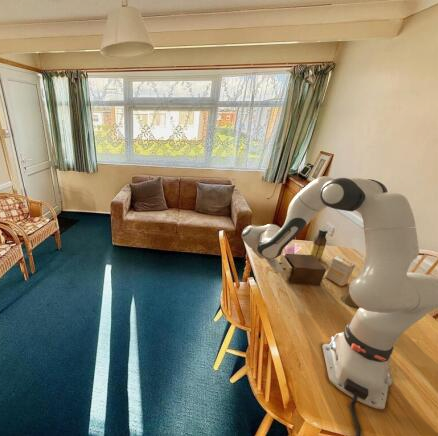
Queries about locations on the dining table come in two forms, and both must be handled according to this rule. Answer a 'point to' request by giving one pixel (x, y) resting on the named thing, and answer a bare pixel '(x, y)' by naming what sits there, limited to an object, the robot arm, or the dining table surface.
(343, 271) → the supplement box
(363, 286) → the robot arm
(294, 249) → the lily
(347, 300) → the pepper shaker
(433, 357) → the dining table surface
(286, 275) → the drawer
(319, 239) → the sauce bottle
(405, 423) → the dining table surface
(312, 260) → the cabinet
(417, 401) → the dining table surface
